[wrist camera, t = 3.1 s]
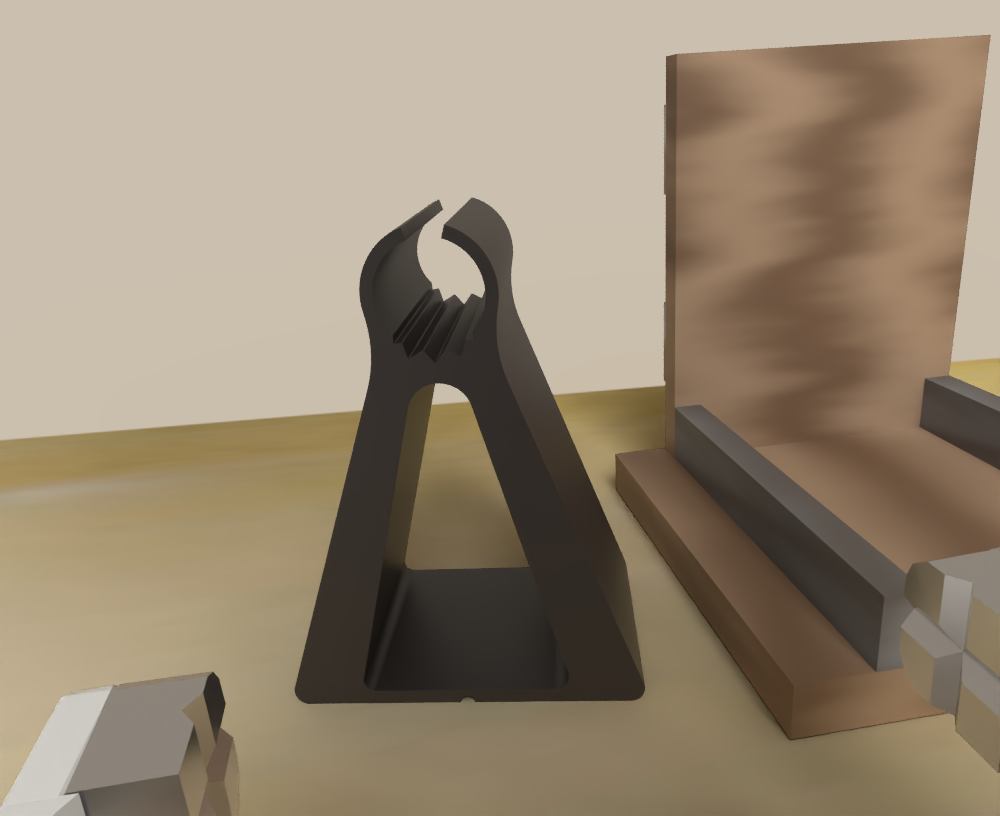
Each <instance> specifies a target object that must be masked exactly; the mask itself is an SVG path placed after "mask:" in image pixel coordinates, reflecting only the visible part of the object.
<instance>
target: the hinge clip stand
mask: <svg viewBox="0 0 1000 816" xmlns="http://www.w3.org/2000/svg"><path fill="white" fill-rule="evenodd" d="M989 44H990V35H981V36H964V37H948V38H932V39H917V40H900V41H883V42H868V43H851V44H834V45H817V46H801V47H785V48H768V49H752V50H736V51H719V52H703V53H687V54H675V55H671V56H667V57H666V105H664V194H665V195H666V302H664V380H665V382H666V385H665V448H660V449H652V450H644V451H636V452H628V453H620V454H615V457H616V490H617V491H618V493H619V494H620V496H621V497H622V499H623V500H624V501H625V503H626V504H627V506H628V507H629V509H630V510H631V511H632V513H633V514H634V516H635V517H636V519H637V520H638V522H639V523H640V524H641V526H642V527H643V529H644V530H645V532H646V533H647V534H648V536H649V537H650V539H651V540H652V542H653V543H654V544H655V546H656V547H657V549H658V550H659V552H660V553H661V555H662V556H663V557H664V559H665V560H666V562H667V563H668V565H669V566H670V567H671V569H672V570H673V572H674V573H675V575H676V576H677V578H678V579H679V580H680V582H681V583H682V585H683V586H684V588H685V589H686V590H687V592H688V593H689V595H690V596H691V598H692V599H693V600H694V602H695V603H696V605H697V606H698V608H699V609H700V611H701V612H702V613H703V615H704V616H705V618H706V619H707V621H708V622H709V623H710V625H711V626H712V628H713V629H714V631H715V632H716V633H717V635H718V636H719V638H720V639H721V641H722V642H723V644H724V645H725V646H726V648H727V649H728V651H729V652H730V654H731V655H732V656H733V658H734V659H735V661H736V662H737V664H738V665H739V667H740V668H741V669H742V671H743V672H744V674H745V675H746V677H747V678H748V679H749V681H750V682H751V684H752V685H753V687H754V688H755V689H756V691H757V692H758V694H759V695H760V697H761V698H762V700H763V701H764V702H765V704H766V705H767V707H768V708H769V710H770V711H771V712H772V714H773V715H774V717H775V718H776V720H777V721H778V723H779V724H780V725H781V727H782V728H783V730H784V731H785V733H786V734H787V735H788V737H789V738H790V740H791V739H797V738H803V737H809V736H814V735H820V734H826V733H832V732H837V731H843V730H849V729H855V728H860V727H866V726H872V725H878V724H884V723H889V722H895V721H901V720H907V719H912V718H918V717H924V716H930V715H935V714H941V713H947V712H946V711H943V710H941V709H939V708H936V707H934V706H932V705H930V704H929V703H928V702H927V701H926V700H925V699H924V698H923V697H922V696H921V695H920V694H919V693H918V692H917V691H916V690H915V688H914V686H913V685H912V683H911V681H910V680H909V678H908V676H907V675H906V672H905V669H904V665H903V662H902V659H901V655H900V652H899V647H900V629H901V625H902V624H903V623H904V621H905V620H906V619H907V617H908V616H909V615H910V613H911V612H912V611H913V609H914V608H913V606H912V605H911V604H910V602H909V601H908V600H907V598H906V597H905V596H904V589H905V580H906V575H907V573H908V571H909V570H910V568H911V566H912V564H913V563H919V562H925V561H931V560H936V559H942V558H948V557H953V556H959V555H965V554H971V553H976V552H982V551H988V550H990V549H994V548H999V547H1000V397H999V396H996V395H994V394H992V393H989V392H987V391H985V390H982V389H980V388H977V387H975V386H973V385H970V384H968V383H966V382H963V381H961V380H959V379H956V378H954V377H951V376H949V370H950V362H951V353H952V346H953V337H954V329H955V321H956V313H957V304H958V297H959V288H960V280H961V272H962V264H963V256H964V247H965V240H966V231H967V223H968V215H969V207H970V199H971V190H972V183H973V175H974V166H975V157H976V150H977V142H978V134H979V126H980V117H981V109H982V101H983V93H984V85H985V77H986V69H987V60H988V52H989Z"/></svg>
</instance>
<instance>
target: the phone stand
mask: <svg viewBox="0 0 1000 816" xmlns="http://www.w3.org/2000/svg"><path fill="white" fill-rule="evenodd" d="M442 210H443V208H442V206H441V203H440V201H439V200H437V201H435V202H433V203H432V204H430V205H428V206H427V207H426V208H424V209H423V210H421V211H420V212H419V213H417V214H416V215H414V216H413V217H412V218H410V219H409V220H407V221H406V222H405V223H403V224H402V225H400V226H399V227H397V228H396V229H394V230H393V231H392V232H390V233H389V234H388V235H386V236H385V237H384V238H382V239H381V240H380V241H379V242H378V243H377V244H376V245H375V247H374V248H373V249H372V251H371V252H370V254H369V256H368V257H367V259H366V261H365V264H364V266H363V269H362V273H361V277H360V288H359V290H360V291H359V292H360V302H361V307H362V310H363V313H364V317H365V320H366V324H367V327H368V332H369V338H370V345H371V373H370V380H369V386H368V390H367V394H366V398H365V402H364V407H363V410H362V414H361V419H360V423H359V427H358V431H357V435H356V439H355V443H354V447H353V452H352V456H351V460H350V464H349V468H348V472H347V476H346V480H345V484H344V489H343V493H342V497H341V501H340V505H339V509H338V513H337V517H336V521H335V526H334V530H333V534H332V538H331V542H330V546H329V550H328V554H327V558H326V563H325V567H324V571H323V575H322V579H321V583H320V587H319V591H318V595H317V600H316V604H315V608H314V612H313V616H312V620H311V624H310V628H309V633H308V637H307V641H306V645H305V649H304V653H303V657H302V661H301V665H300V670H299V674H298V678H297V682H296V686H295V694H296V696H297V697H298V699H299V700H301V701H302V702H304V703H308V704H322V703H424V702H461V699H462V698H463V697H465V696H470V697H472V698H473V699H474V700H475V702H525V701H627V700H636V699H638V698H640V697H641V696H642V695H643V693H644V691H645V685H644V678H643V672H642V665H641V659H640V652H639V646H638V639H637V633H636V626H635V620H634V613H633V607H632V600H631V594H630V587H629V581H628V574H627V568H626V562H625V560H624V558H623V555H622V553H621V551H620V548H619V546H618V544H617V541H616V539H615V537H614V535H613V532H612V530H611V528H610V525H609V523H608V521H607V518H606V516H605V514H604V512H603V509H602V507H601V505H600V502H599V500H598V498H597V495H596V493H595V491H594V489H593V486H592V484H591V482H590V479H589V477H588V475H587V473H586V470H585V468H584V466H583V463H582V461H581V459H580V456H579V454H578V452H577V450H576V447H575V445H574V443H573V440H572V438H571V436H570V433H569V431H568V429H567V427H566V424H565V422H564V420H563V417H562V415H561V413H560V410H559V408H558V406H557V404H556V401H555V399H554V397H553V394H552V393H551V390H550V387H549V385H548V383H547V381H546V378H545V376H544V374H543V371H542V369H541V367H540V365H539V362H538V360H537V358H536V355H535V353H534V351H533V348H532V346H531V344H530V342H529V340H528V337H527V335H526V332H525V330H524V328H523V325H522V323H521V321H520V318H519V316H518V313H517V310H516V307H515V304H514V300H513V294H512V287H511V266H512V258H513V245H512V239H511V235H510V232H509V230H508V228H507V226H506V224H505V222H504V220H503V219H502V218H501V216H500V215H499V214H498V213H497V212H496V211H495V210H494V209H493V208H492V207H490V206H489V205H488V204H486V203H484V202H482V201H480V200H478V199H475V198H471V199H470V200H469V201H468V202H467V203H466V204H465V205H464V206H463V207H462V208H461V209H460V210H459V211H458V212H457V213H456V214H455V215H454V216H453V217H452V218H451V219H450V220H449V221H447V222H446V223H445V224H444V228H443V232H442V237H441V238H442V239H445V240H448V241H450V242H452V243H454V244H456V245H458V246H459V247H461V248H462V249H463V250H464V251H466V252H467V253H468V254H469V255H470V257H471V258H472V259H473V260H474V261H475V263H476V265H477V266H478V268H479V270H480V272H481V275H482V277H483V281H484V284H485V292H484V295H483V297H482V298H480V297H478V296H476V295H474V294H471V295H470V297H469V298H468V300H467V301H466V303H465V304H463V303H462V302H461V301H460V299H459V298H458V297H457V296H456V295H453V296H452V297H450V298H448V299H447V300H445V301H443V298H442V296H441V293H440V290H439V289H434V290H433V289H432V284H431V282H430V281H429V280H428V279H427V277H426V276H425V274H424V273H423V271H422V269H421V267H420V264H419V261H418V256H417V243H418V238H419V235H420V232H421V230H422V228H423V226H424V225H425V224H426V223H427V222H428V221H430V220H431V219H432V218H433V217H434V216H436V215H437V214H438V213H439V212H440V211H442ZM435 383H443V384H448V385H451V386H453V387H455V388H457V389H459V390H460V391H461V392H463V393H464V394H465V395H466V397H467V398H468V400H469V401H470V403H471V406H472V408H473V411H474V414H475V417H476V419H477V422H478V425H479V428H480V430H481V433H482V436H483V439H484V441H485V444H486V447H487V450H488V452H489V455H490V458H491V461H492V463H493V466H494V469H495V472H496V475H497V477H498V480H499V483H500V486H501V488H502V491H503V494H504V497H505V499H506V502H507V505H508V508H509V510H510V513H511V516H512V519H513V521H514V524H515V527H516V530H517V533H518V535H519V538H520V541H521V544H522V546H523V549H524V552H525V555H526V557H527V560H528V563H529V566H530V567H522V568H481V569H439V570H411V569H409V568H407V567H406V565H405V562H404V560H405V554H406V549H407V543H408V537H409V531H410V525H411V520H412V514H413V508H414V502H415V497H416V491H417V485H418V479H419V473H420V468H421V462H422V456H423V450H424V444H425V439H426V433H427V427H428V421H429V416H430V410H431V404H432V398H433V392H434V386H435Z"/></svg>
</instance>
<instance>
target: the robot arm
mask: <svg viewBox="0 0 1000 816" xmlns="http://www.w3.org/2000/svg"><path fill="white" fill-rule="evenodd" d="M904 596H905V597H906V598H907V600H908V601H909V602H910V604H911V605H912V606H913V608H914V609H913V611H912V612H911V613H910V615H909V616H908V617H907V619H906V620H905V621H904V623H903V624H902V625H901V629H900V647H899V652H900V655H901V659H902V662H903V665H904V669H905V672H906V675H907V676H908V678H909V680H910V681H911V683H912V685H913V686H914V688H915V690H916V691H917V692H918V693H919V694H920V695H921V696H922V697H923V698H924V699H925V700H926V701H927V702H928V703H929V704H930V705H932V706H934V707H936V708H939V709H941V710H943V711H946V712H948V713H950V714H953V715H955V726H956V732H957V733H958V734H959V735H960V736H961V737H962V738H963V739H964V740H965V741H966V742H967V743H968V744H969V745H970V746H971V747H972V748H973V749H974V750H975V751H976V752H977V753H978V754H979V755H980V756H981V757H982V758H983V759H984V760H985V761H986V762H987V763H988V764H989V765H990V766H991V767H992V768H993V769H994V770H995V771H996V772H997V773H1000V547H999V548H994V549H990V550H988V551H982V552H976V553H971V554H965V555H959V556H953V557H948V558H942V559H936V560H931V561H925V562H919V563H913V564H912V566H911V568H910V570H909V571H908V573H907V575H906V580H905V589H904ZM224 708H225V700H224V696H223V692H222V688H221V685H220V681H219V678H218V677H217V676H216V675H215V673H214V672H207V673H199V674H192V675H185V676H177V677H170V678H162V679H155V680H148V681H140V682H133V683H126V684H120V685H118V686H116V685H110V686H104V687H98V688H92V689H85V690H79V691H73V692H70V693H68V694H66V695H64V696H63V697H61V699H60V700H59V701H58V703H57V705H56V707H55V709H54V710H53V712H52V714H51V716H50V718H49V720H48V721H47V723H46V725H45V727H44V729H43V730H42V732H41V734H40V736H39V738H38V740H37V741H36V743H35V745H34V747H33V749H32V751H31V752H30V754H29V756H28V758H27V760H26V762H25V763H24V765H23V767H22V769H21V771H20V773H19V774H18V776H17V778H16V780H15V782H14V784H13V785H12V787H11V789H10V791H9V793H8V795H7V796H6V798H5V800H4V802H3V804H2V806H0V816H237V814H238V808H239V770H238V761H237V754H236V749H235V744H234V740H233V737H232V736H230V735H229V734H228V733H226V732H225V731H224V730H223V729H221V728H220V726H221V721H222V717H223V713H224Z"/></svg>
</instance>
